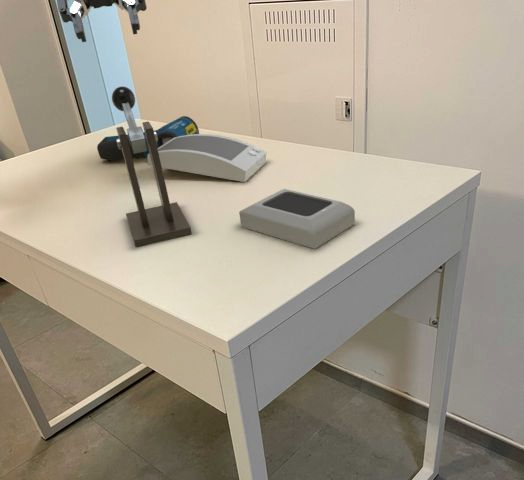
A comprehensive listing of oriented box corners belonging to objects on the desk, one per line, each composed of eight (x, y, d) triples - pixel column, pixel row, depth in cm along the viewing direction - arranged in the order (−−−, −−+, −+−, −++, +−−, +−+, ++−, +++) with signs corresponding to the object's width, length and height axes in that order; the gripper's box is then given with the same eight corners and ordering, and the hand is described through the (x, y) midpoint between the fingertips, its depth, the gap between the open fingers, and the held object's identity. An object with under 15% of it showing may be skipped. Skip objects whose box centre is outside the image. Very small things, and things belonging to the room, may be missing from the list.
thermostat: (247, 183, 103) (243, 152, 99) (151, 179, 110) (144, 150, 107) (267, 163, 111) (264, 134, 107) (177, 160, 118) (171, 133, 115)
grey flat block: (279, 183, 90) (354, 200, 81) (281, 205, 92) (354, 224, 83) (238, 204, 85) (313, 224, 76) (241, 226, 87) (314, 249, 78)
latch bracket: (127, 219, 94) (101, 124, 85) (178, 208, 96) (157, 113, 87) (135, 247, 85) (107, 143, 76) (191, 233, 87) (170, 130, 77)
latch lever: (112, 104, 89) (107, 83, 86) (134, 100, 90) (130, 79, 86) (129, 158, 83) (124, 138, 80) (152, 153, 84) (149, 133, 80)
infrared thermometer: (130, 149, 133) (203, 143, 126) (100, 168, 123) (178, 162, 116) (121, 122, 129) (197, 114, 122) (91, 139, 120) (170, 132, 112)
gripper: (41, -64, 89) (59, 24, 86) (128, -76, 90) (149, 10, 88) (54, -25, 96) (71, 57, 94) (135, -36, 98) (154, 44, 95)
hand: (109, 34), depth 91 cm, fingers open, 8 cm apart
